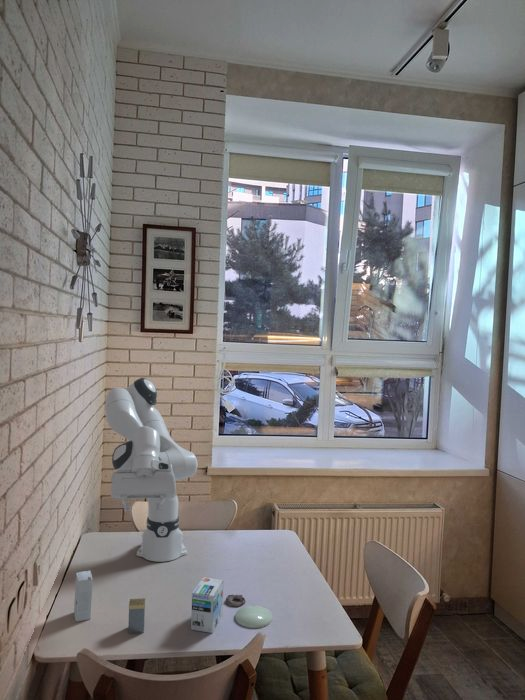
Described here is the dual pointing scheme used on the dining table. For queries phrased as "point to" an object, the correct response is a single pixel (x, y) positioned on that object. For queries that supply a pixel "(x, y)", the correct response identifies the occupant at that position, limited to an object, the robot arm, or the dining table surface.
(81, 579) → the skincare box
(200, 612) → the light bulb box
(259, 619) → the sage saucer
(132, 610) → the tea tin
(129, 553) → the dining table surface
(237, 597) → the donut
